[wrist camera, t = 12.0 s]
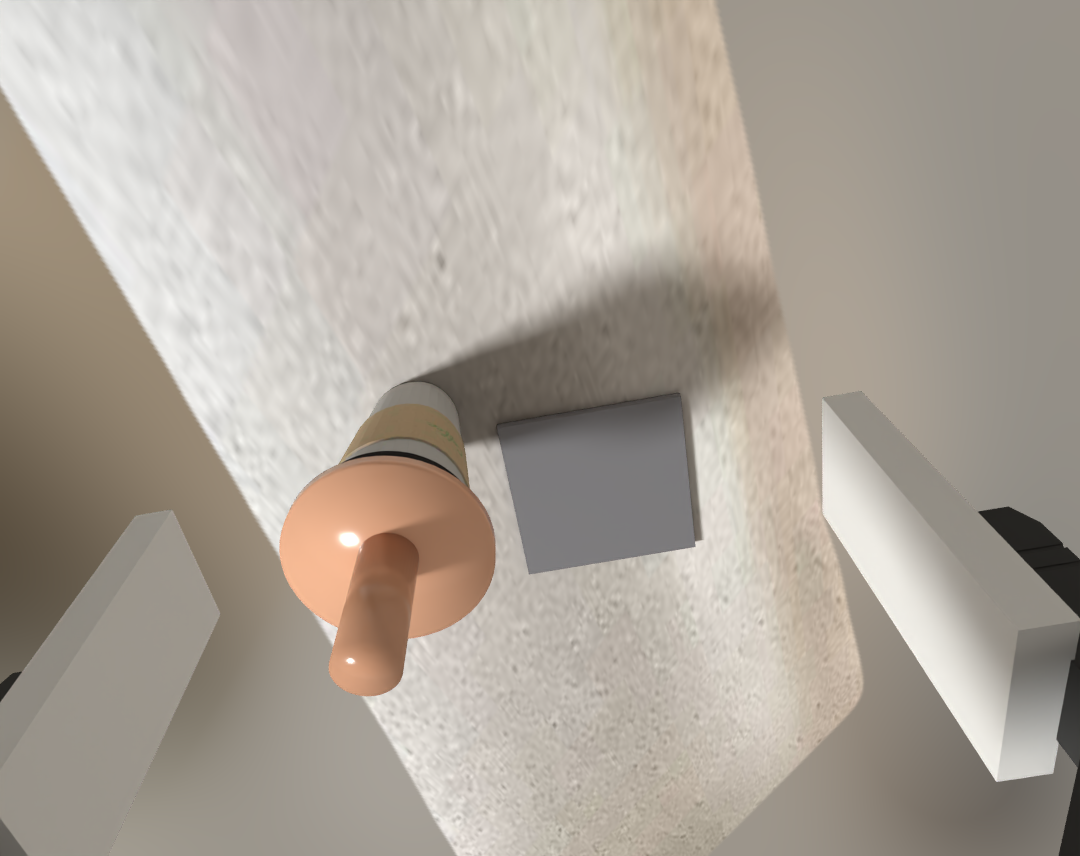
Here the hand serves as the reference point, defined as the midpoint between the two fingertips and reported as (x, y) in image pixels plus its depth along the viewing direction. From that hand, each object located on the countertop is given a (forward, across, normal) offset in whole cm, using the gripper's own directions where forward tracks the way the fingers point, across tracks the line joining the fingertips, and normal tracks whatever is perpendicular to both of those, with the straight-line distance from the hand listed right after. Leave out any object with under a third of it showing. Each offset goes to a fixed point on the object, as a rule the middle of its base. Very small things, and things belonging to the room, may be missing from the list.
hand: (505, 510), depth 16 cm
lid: (+22, -9, -15) cm, 28 cm away
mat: (+37, +3, -23) cm, 43 cm away
